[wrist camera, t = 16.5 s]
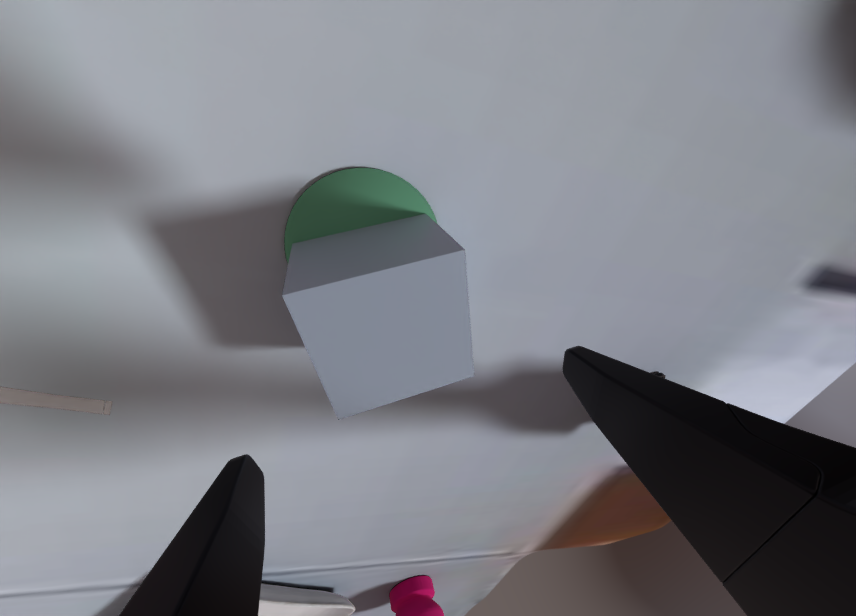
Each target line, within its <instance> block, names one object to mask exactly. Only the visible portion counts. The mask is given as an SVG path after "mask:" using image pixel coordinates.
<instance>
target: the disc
mask: <svg viewBox="0 0 856 616" xmlns="http://www.w3.org/2000/svg"><path fill="white" fill-rule="evenodd" d="M422 214H427V215H428V216H429V217H430V218H431V219H432V220H433V221H434V222H436V223H437V221H436V218H435V215H434V213H433V211H432V209H431V207H430V205H429V204H428V202H427V201H426V199H425V198H424V197H423V196H422V195H421V194H420V192H419V191H418V190H417V189H415V188H414V187H413V186H412V185H411V184H410V183H408V182H407V181H405V180H403V179H402V178H400V177H398V176H396V175H394V174H392V173H389V172H386V171H383V170H379V169H373V168H351V169H345V170H341V171H337V172H334V173H332V174H329V175H327V176H325V177H323V178H322V179H320V180H318V181H317V182H315V183H314V184H313V185H311V186H310V187H309V188H308V189H307V190H306V191H305V192H304V193H303V194H302V195H301V196H300V198H299V199H298V201H297V202H296V204H295V205H294V207H293V209H292V211H291V213H290V215H289V218H288V222H287V225H286V229H285V238H284V243H285V254H286V259H287V262H288V263H289V258H290V253H291V248H292V244H293V243H297V242H302V241H306V240H311V239H315V238H320V237H324V236H328V235H333V234H337V233H342V232H346V231H351V230H355V229H360V228H364V227H368V226H373V225H377V224H382V223H386V222H391V221H395V220H400V219H404V218H408V217H413V216H417V215H422Z"/></svg>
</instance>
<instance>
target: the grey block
mask: <svg viewBox="0 0 856 616" xmlns="http://www.w3.org/2000/svg"><path fill="white" fill-rule="evenodd" d="M282 297H283V299H284V301H285V303H286V305H287V308H288V310H289V312H290V314H291V317H292V319H293V321H294V323H295V325H296V328H297V330H298V332H299V334H300V336H301V339H302V341H303V343H304V345H305V347H306V350H307V352H308V354H309V356H310V359H311V361H312V363H313V365H314V367H315V370H316V372H317V374H318V376H319V378H320V381H321V383H322V385H323V387H324V389H325V392H326V394H327V396H328V398H329V400H330V403H331V405H332V407H333V409H334V412H335V414H336V416H337V418H338V420H340V419H343V418H346V417H349V416H352V415H355V414H358V413H362V412H365V411H368V410H371V409H374V408H377V407H380V406H383V405H386V404H389V403H393V402H396V401H399V400H402V399H405V398H408V397H411V396H414V395H417V394H420V393H423V392H427V391H430V390H433V389H436V388H439V387H442V386H445V385H448V384H451V383H454V382H458V381H461V380H464V379H467V378H470V377H473V376H474V364H473V351H472V337H471V324H470V311H469V297H468V284H467V271H466V257H465V249H464V248H463V247H462V246H460V245H459V244H458V243H457V242H456V241H455V240H454V239H453V238H452V237H451V236H450V235H449V234H447V233H446V232H445V231H444V230H443V229H442V228H441V227H440V226H439V225H438V224H437V223H436V222H434V221H433V220H432V219H431V218H430V217H429V216H428V215H427V214H422V215H417V216H413V217H408V218H404V219H400V220H395V221H391V222H386V223H382V224H377V225H373V226H368V227H364V228H360V229H355V230H351V231H346V232H342V233H337V234H333V235H328V236H324V237H320V238H315V239H311V240H306V241H302V242H297V243H293V244H292V248H291V253H290V258H289V263H288V268H287V273H286V278H285V283H284V288H283V293H282Z"/></svg>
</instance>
